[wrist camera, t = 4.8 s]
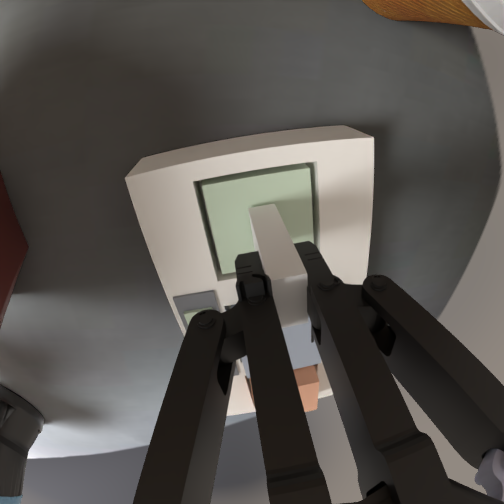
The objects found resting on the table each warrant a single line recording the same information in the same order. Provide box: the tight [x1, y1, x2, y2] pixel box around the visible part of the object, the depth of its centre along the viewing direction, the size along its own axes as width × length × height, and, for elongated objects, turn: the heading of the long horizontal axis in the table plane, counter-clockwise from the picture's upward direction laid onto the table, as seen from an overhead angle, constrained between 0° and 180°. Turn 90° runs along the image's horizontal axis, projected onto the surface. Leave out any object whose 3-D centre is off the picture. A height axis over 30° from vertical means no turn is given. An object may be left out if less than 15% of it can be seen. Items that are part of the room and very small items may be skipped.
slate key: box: [231, 304, 321, 378], centre depth 21 cm, size 6×6×2 cm
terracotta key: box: [250, 365, 319, 412], centre depth 26 cm, size 6×6×2 cm
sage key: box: [202, 163, 314, 274], centre depth 18 cm, size 6×6×2 cm
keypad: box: [125, 125, 374, 416], centre depth 24 cm, size 14×27×5 cm, turn 8°
